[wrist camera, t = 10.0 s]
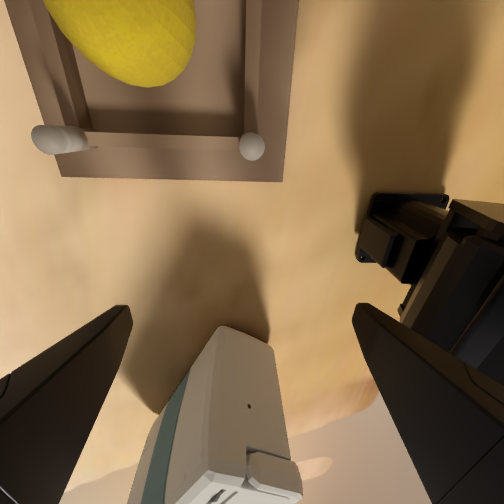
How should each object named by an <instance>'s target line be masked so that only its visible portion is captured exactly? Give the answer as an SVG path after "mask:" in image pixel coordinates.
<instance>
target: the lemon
mask: <svg viewBox="0 0 504 504" xmlns="http://www.w3.org/2000/svg"><path fill="white" fill-rule="evenodd" d="M43 1H44V4H45V6H46V8H47V10H48V11H49V13H50V14H51V16H52V17H53V19H54V20H55V22H56V24H57V25H58V27H59V28H60V30H61V31H62V33H63V34H64V35H65V36H66V37H67V39H68V40H69V41H70V42H71V43H72V44H73V45H74V46H75V47H76V48H77V50H78V51H79V52H80V53H81V54H82V55H83V56H84V57H85V58H86V59H88V60H89V61H90V62H91V63H93V64H94V65H95V66H97V67H98V68H99V69H101V70H102V71H103V72H105V73H106V74H108V75H109V76H111V77H113V78H115V79H118V80H120V81H122V82H125V83H127V84H130V85H134V86H141V87H148V88H149V87H155V86H162V85H165V84H167V83H169V82H170V81H172V80H174V79H175V78H176V77H177V76H178V75H179V74H180V73H182V72H183V71H184V69H185V67H186V66H187V64H188V62H189V60H190V59H191V55H192V52H193V48H194V45H195V37H196V16H195V8H194V0H43Z"/></svg>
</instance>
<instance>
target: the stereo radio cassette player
mask: <svg viewBox="0 0 504 504" xmlns="http://www.w3.org/2000/svg"><path fill="white" fill-rule="evenodd" d="M290 459H291V457H290V450H289V444H288V438H287V432H286V425H285V419H284V413H283V406H282V400H281V394H280V388H279V381H278V375H277V369H276V363H275V356H274V350H273V348H272V347H271V346H269V345H268V344H266V343H264V342H262V341H260V340H258V339H256V338H254V337H252V336H250V335H247V334H245V333H243V332H240V331H238V330H235V329H232V328H230V327H227V326H219V327H218V328H217V329H216V331H215V332H214V334H213V335H212V337H211V338H210V340H209V341H208V343H207V344H206V346H205V347H204V349H203V350H202V352H201V353H200V355H199V356H198V358H197V359H196V361H195V362H194V364H193V365H192V367H191V368H190V370H189V371H188V373H187V374H186V376H185V377H184V379H183V380H182V382H181V383H180V385H179V386H178V388H177V389H176V391H175V392H174V394H173V395H172V397H171V398H170V400H169V401H168V403H167V404H166V406H165V407H164V409H163V410H162V412H161V413H160V415H159V416H158V418H157V419H156V421H155V422H154V424H153V425H152V427H151V430H150V432H149V434H148V437H147V440H146V443H145V446H144V449H143V452H142V455H141V458H140V461H139V464H138V468H137V471H136V474H135V478H134V481H133V485H132V488H131V491H130V495H129V499H128V503H127V504H295V503H296V502H298V501H299V500H301V499H302V498H303V488H302V480H301V476H300V473H299V469H298V466H297V465H296V463H295V462H293V461H290Z"/></svg>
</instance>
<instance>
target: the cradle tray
mask: <svg viewBox="0 0 504 504" xmlns="http://www.w3.org/2000/svg"><path fill="white" fill-rule="evenodd" d="M4 1H5V4H6V7H7V10H8V14H9V17H10V20H11V23H12V26H13V29H14V32H15V35H16V38H17V41H18V44H19V47H20V50H21V53H22V57H23V60H24V63H25V66H26V69H27V72H28V75H29V78H30V81H31V84H32V87H33V90H34V93H35V96H36V100H37V103H38V106H39V109H40V112H41V115H42V118H43V121H44V124H45V125H38V126H36V127H34V128H33V130H32V133H31V137H32V140H33V143H34V144H35V146H36V147H37V148H38V149H39V150H40V151H42V152H43V153H46V154H49V155H55V158H56V161H57V164H58V167H59V170H60V173H61V176H62V177H92V178H133V179H174V180H215V181H256V182H282V181H283V170H284V159H285V148H286V137H287V126H288V114H289V103H290V92H291V81H292V70H293V59H294V48H295V37H296V26H297V15H298V4H299V0H194V8H195V16H196V37H195V45H194V48H193V52H192V55H191V59H190V60H189V62H188V64H187V66H186V67H185V69H184V71H183V72H182V73H180V74H179V75H178V76H177V77H176V78H175V79H174V80H172V81H170V82H169V83H167V84H165V85H162V86H155V87H149V88H148V87H141V86H134V85H130V84H127V83H125V82H122V81H120V80H118V79H115V78H113V77H111V76H109V75H108V74H106V73H105V72H103V71H102V70H101V69H99V68H98V67H97V66H95V65H94V64H93V63H91V62H90V61H89V60H88V59H86V58H85V57H84V56H83V55H82V54H81V53H80V52H79V51H78V50H77V48H76V47H75V46H74V45H73V44H72V43H71V42H70V41H69V40H68V39H67V37H66V36H65V35H64V34H63V33H62V31H61V30H60V28H59V27H58V25H57V24H56V22H55V20H54V19H53V17H52V16H51V14H50V13H49V11H48V10H47V8H46V6H45V4H44V1H43V0H4Z"/></svg>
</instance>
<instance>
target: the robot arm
mask: <svg viewBox="0 0 504 504" xmlns="http://www.w3.org/2000/svg"><path fill="white" fill-rule="evenodd" d="M379 196H380V199H379V200H378V201H377V198H378V197H379ZM442 198H443V199H442ZM441 199H442V201H441V202H440V200H441ZM448 202H449V196H448V195H446V194H443V193H405V192H376V193H374V194H373V196H372V198H371V201H370V205H369V209H368V212H367V216H366V217H365V219H364V222H363V226H362V230H361V234H360V237H359V241H358V244H359V246H358V250H357V253H356V259H357V260H358V261H359V262H361V263H378V264H379V265H380V266H381V267H382V268H386V269H387V270H388V271H389V272H390V273H391V274H392V275H393V276H395V277H396V278H397V279H398V280H399V281H400V282H401V283H403V284H409V285H411V288H410V290H409V292H408V294H407V296H406V298H405V300H404V302H403V303H402V304H400V306H399V308H398V313H399V315H400V322H398V321H397V320H395V319H393V318H392V317H390V316H389V315H387V314H385V313H384V312H382V311H380V310H379V309H377V308H375V307H374V306H372V305H371V304H369V303H358V304H357V305H356V307H355V310H354V314H353V317H352V324H353V327H354V330H355V333H356V336H357V339H358V341H359V344H360V347H361V350H362V353H363V356H364V358H365V361H366V363H367V365H368V367H369V370H370V372H371V374H372V376H373V378H374V380H375V382H376V385H377V387H378V389H379V391H380V393H381V395H382V397H383V400H384V402H385V404H386V406H387V408H388V410H389V412H390V415H391V417H392V419H393V421H394V423H395V425H396V427H397V429H398V432H399V434H400V436H401V438H402V440H403V442H404V444H405V447H406V449H407V451H408V453H409V455H410V457H411V459H412V462H413V464H414V466H415V468H416V470H417V472H418V475H419V477H420V479H421V481H422V483H423V485H424V487H425V490H426V492H427V494H428V496H429V498H430V500H431V502H432V504H504V204H499V203H489V202H479V201H469V200H459V199H452V202H451V204H450V206H449V208H450V210H449V211H447V210H445V209H446V207H447V204H448ZM361 256H363V257H362V258H361ZM132 327H133V320H132V316H131V312H130V308H129V306H128V305H115V306H114V307H112V308H111V309H109V310H107V311H106V312H104V313H103V314H101V315H100V316H98V317H97V318H95V319H93V320H92V321H90V322H89V323H87V324H86V325H84V326H83V327H81V328H79V329H78V330H76V331H75V332H73V333H72V334H70V335H68V336H67V337H65V338H64V339H62V340H61V341H59V342H58V343H56V344H54V345H53V346H51V347H50V348H48V349H47V350H45V351H43V352H42V353H40V354H39V355H37V356H36V357H34V358H33V359H31V360H29V361H28V362H26V363H25V364H23V365H22V366H20V367H18V368H17V369H15V370H14V371H12V373H11V374H7V375H6V376H4V377H3V378H1V379H0V504H59V502H60V500H61V497H62V495H63V493H64V491H65V488H66V486H67V484H68V482H69V479H70V477H71V475H72V473H73V470H74V468H75V466H76V464H77V461H78V459H79V457H80V455H81V452H82V450H83V448H84V446H85V443H86V441H87V439H88V437H89V434H90V432H91V430H92V428H93V425H94V423H95V421H96V419H97V416H98V414H99V412H100V410H101V407H102V405H103V403H104V401H105V398H106V396H107V394H108V392H109V389H110V387H111V385H112V383H113V380H114V378H115V376H116V374H117V371H118V369H119V366H120V364H121V361H122V358H123V355H124V352H125V349H126V346H127V342H128V339H129V336H130V333H131V330H132Z"/></svg>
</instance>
